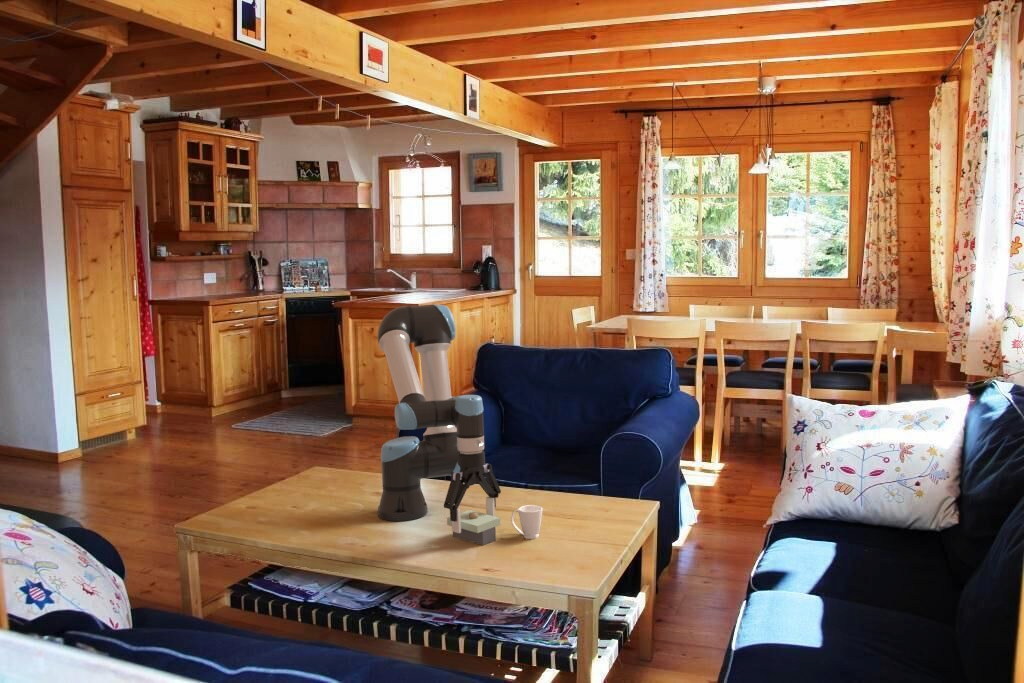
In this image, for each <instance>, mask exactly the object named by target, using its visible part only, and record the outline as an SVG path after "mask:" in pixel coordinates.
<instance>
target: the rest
mask: <svg viewBox="0 0 1024 683" xmlns="http://www.w3.org/2000/svg"><path fill="white" fill-rule="evenodd" d="M496 535H497V534H496V527H493V528H490V529H487V530H485V531H482V532H479V533H476V532H472V531H468V530H465V529H461V533H456V532H452V537H453V538H457V539H460V540H463V541H466V542H471V543H473V544H477V545H480V546H486V545H488V544H491V543H493V542H496V541H497V536H496Z"/></svg>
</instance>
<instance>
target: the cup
mask: <svg viewBox="0 0 1024 683" xmlns="http://www.w3.org/2000/svg"><path fill="white" fill-rule="evenodd" d="M516 512H518V516H519V521H520V523H519V524H520V526H521V529H520V528H519V527H518V526H517V525H516V523H515V521H514V520H515V513H516ZM542 517H543V507H542V506H539V505H537V504H527V505H522V506H520V507H518V509H515V510H512V513H511V516H510V518H511V520H510V521H511V525H512V526H513V528H514V529H515V530H516V532H518V533H519V534H520V535H522V536H523V538H525V539H527V540H528V539H529V540H531V539H532V540H533V539H538V538H539V537H540V534H539V533H540V530H541V524H542Z"/></svg>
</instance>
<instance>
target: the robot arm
mask: <svg viewBox="0 0 1024 683" xmlns="http://www.w3.org/2000/svg"><path fill="white" fill-rule="evenodd" d="M456 335H457V334H456V324H455V320H454V315H453V313H452V311H451V310H450V308H449V307H448V306H446V305H444V304H423V305H421V304H420V305H409V306H408V305H407V306H406V305H404V306H403V305H402V306H398V307H396V308H393V309H391V310H390V311H389V312H388V313H387V314H386V315H384V317H383V318H382V320H381V321H380V323H379V326H378V329H377V341H378V342H377V343H378V345H379V349H380V350H381V351H382V352H383V353H384V355H385V359H386V362H387V366H388V369H389V373H390V376H391V380H392V383H393V386H394V391H395V392H396V393H395V394H396V397H397V400H398V403H397V404H396V405H395V406H394V420H395V425H396V428H397V429H399V430H405V431H406V430H407V431H410V430H417V429H418V430H420V429H426V430H425V432H424V433H423V435H422V437H423V438H422V439H423V440H420V439H419V437H417V436H415V435H414V436H413V435H411V436H406V435H405V436H400V437H396V438H393V439H390V440H388V441H386V442H384V444H383V445H382V446H381V448H380V451H381V452H380V461H381V480H382V491H381V492H382V493H381V497H380V500H379V505H378V507H377V516H378V517H379V518H380V519H382V520H384V521H389V522H390V521H391V522H401V521H402V522H406V521H412V520H417V519H420V518H422V517H423V518H424V516H426V515H427V514H428V504H427V502H426V499H425V496H424V493H423V491H422V486H421V480H422V479H423V480H424V479H431V478H438V477H447V476H448V477H450V483H449V486H448V490H447V493H446V496H445V499H444V503H443V508H444V509H449V517H450V520H451V521H452V526H451V531H452V533H453V532H456V533H461V518H460V513H461V509H460V508H459V506H460V505H461V503H462V500H463V498H464V496H465V495H466V492H467V490H469V488H470V487H471V486H474V485H476V484H478V485H479V486H480V487H481V489H482V490H483V491H484V493H486V495H487V496H486V497H485V509H486V510H485V511H486V512H485V514H487V515H491V516H495V517H496V507H497V503H496V502H497V501H496V500H497V498H499V495H500V494H501V493H502V489H501V488H500V485H499V483H498V480H497V478H496V476H495V474H494V472H493V465H492V464H490V463H486V456H485V455H486V453H485V451H484V450H485V430H484V429H485V428H484V425H485V424H484V409H485V408H484V404H483V398H482V396H480V395H477V394H464V395H463V394H462V395H459V396H452V389H451V380H450V378H451V377H450V369H449V360H448V350H449V349H450V347H451V346H452V344H451V343H452V342H451V341H453V340H455V339H456ZM410 344H413V347H414V350H415V351H416V352H417V353H418V354H419V357H420V366H421V370H420V371H421V377H422V379H421V380H422V383H421V381H420V377H419V374H418V371H417V369H416V365H415V362H414V358H413V356H412V352H411V348H410V346H409V345H410Z"/></svg>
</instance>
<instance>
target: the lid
mask: <svg viewBox="0 0 1024 683" xmlns="http://www.w3.org/2000/svg"><path fill="white" fill-rule="evenodd" d="M460 518H461V529H465V530H468V531H472V532H476V533H479V532H482V531H485V530H487V529H490V528H493V527H495V528H496V527H498V526H501V517H499V516H496V515H495V516H491V515H487V514H486V513H483V512H480V511H479V512H478V511H476V510H475V511H474V510H471V509H469V510H466V511H463V512H460ZM446 526H450V527H452V521H451V520H450V516H449V517H446Z"/></svg>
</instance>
